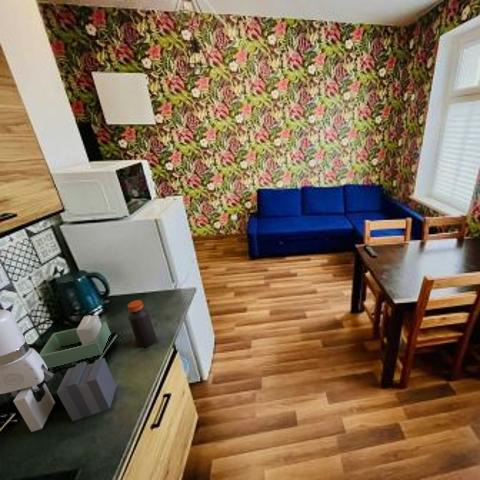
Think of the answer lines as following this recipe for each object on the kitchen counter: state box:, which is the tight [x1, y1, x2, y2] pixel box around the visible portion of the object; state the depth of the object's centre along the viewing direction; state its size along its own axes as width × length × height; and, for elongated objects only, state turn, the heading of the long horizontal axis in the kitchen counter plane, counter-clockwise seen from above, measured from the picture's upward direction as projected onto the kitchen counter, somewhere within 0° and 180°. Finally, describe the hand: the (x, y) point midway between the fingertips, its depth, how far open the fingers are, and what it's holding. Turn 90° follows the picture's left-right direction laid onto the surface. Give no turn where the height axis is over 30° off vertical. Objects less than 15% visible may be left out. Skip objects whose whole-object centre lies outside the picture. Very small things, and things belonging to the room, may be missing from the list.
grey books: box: [56, 357, 117, 422], centre depth 85 cm, size 10×9×14 cm
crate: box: [38, 321, 112, 368], centre depth 106 cm, size 18×14×8 cm
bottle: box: [127, 299, 158, 349], centre depth 109 cm, size 7×7×20 cm
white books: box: [76, 314, 102, 345], centre depth 107 cm, size 4×9×13 cm, turn 24°
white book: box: [12, 383, 56, 433], centre depth 80 cm, size 2×9×13 cm, turn 24°
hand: (34, 399), depth 80 cm, fingers closed on white book, 2 cm apart
